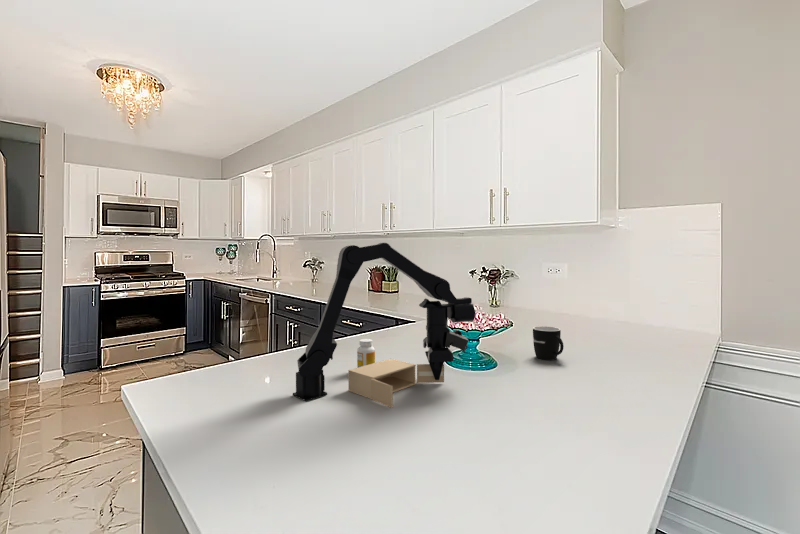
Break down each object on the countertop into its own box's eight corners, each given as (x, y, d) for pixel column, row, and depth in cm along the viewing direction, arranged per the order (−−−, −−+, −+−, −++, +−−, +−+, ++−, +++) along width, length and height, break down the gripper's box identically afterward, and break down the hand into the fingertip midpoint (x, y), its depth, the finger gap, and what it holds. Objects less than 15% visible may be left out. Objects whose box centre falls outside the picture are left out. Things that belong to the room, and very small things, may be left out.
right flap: (443, 381, 117) (443, 364, 117) (444, 382, 117) (444, 364, 116) (416, 382, 117) (416, 364, 117) (417, 382, 116) (417, 364, 116)
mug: (527, 356, 147) (527, 327, 147) (547, 353, 151) (547, 325, 150) (551, 364, 136) (551, 333, 136) (572, 361, 139) (573, 331, 139)
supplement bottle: (376, 369, 131) (376, 338, 131) (373, 374, 126) (373, 342, 125) (359, 369, 131) (359, 338, 131) (355, 374, 126) (355, 341, 126)
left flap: (371, 399, 104) (371, 379, 104) (373, 398, 104) (372, 378, 104) (391, 407, 98) (391, 386, 98) (393, 406, 99) (392, 385, 98)
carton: (373, 399, 105) (373, 377, 104) (348, 390, 111) (348, 370, 111) (415, 384, 116) (415, 364, 116) (390, 377, 123) (390, 358, 123)
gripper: (473, 329, 107) (472, 390, 108) (460, 317, 126) (460, 369, 126) (429, 329, 107) (429, 390, 107) (422, 318, 125) (422, 370, 126)
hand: (436, 379), depth 117 cm, fingers closed, pressing on right flap
